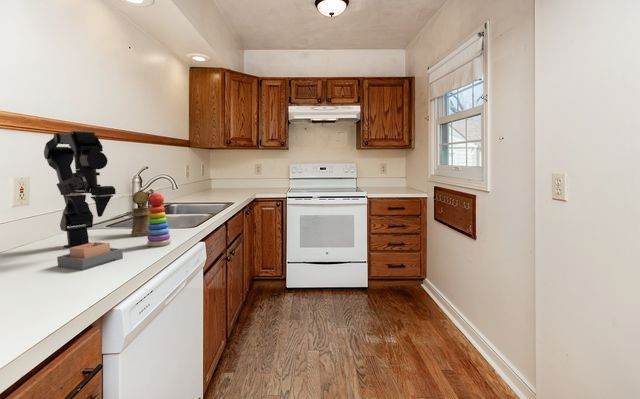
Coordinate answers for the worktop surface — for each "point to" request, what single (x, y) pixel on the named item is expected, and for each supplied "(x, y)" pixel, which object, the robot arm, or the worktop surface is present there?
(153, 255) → the worktop surface
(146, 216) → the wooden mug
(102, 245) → the salmon orange block
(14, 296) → the worktop surface
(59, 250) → the worktop surface
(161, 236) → the stacking toy
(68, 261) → the tray
